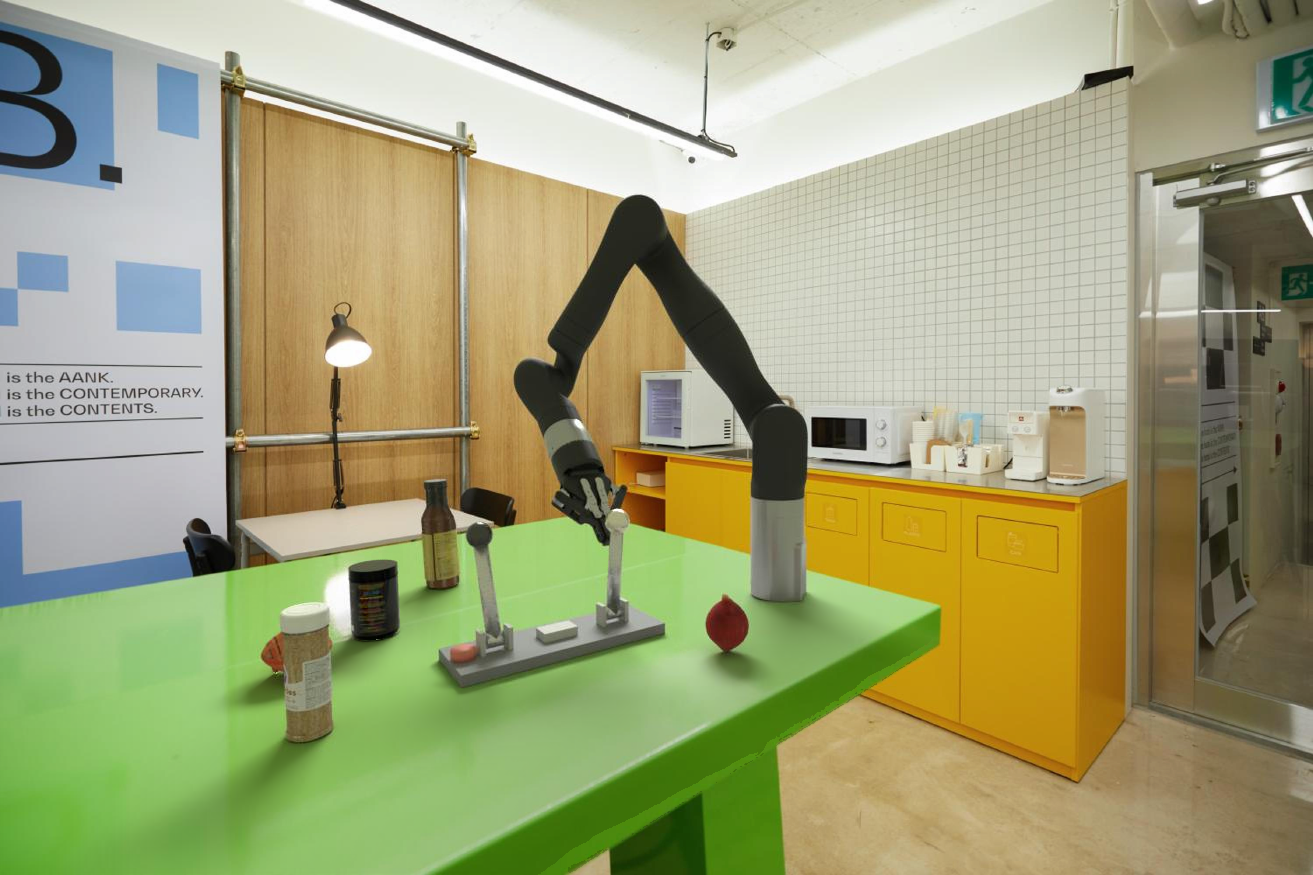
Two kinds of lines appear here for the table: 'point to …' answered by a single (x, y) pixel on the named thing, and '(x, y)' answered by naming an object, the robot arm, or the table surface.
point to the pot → (277, 653)
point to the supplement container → (374, 599)
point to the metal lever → (615, 561)
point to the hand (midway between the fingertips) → (610, 542)
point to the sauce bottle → (439, 538)
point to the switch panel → (546, 644)
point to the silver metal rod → (486, 582)
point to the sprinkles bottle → (307, 671)
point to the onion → (727, 624)
